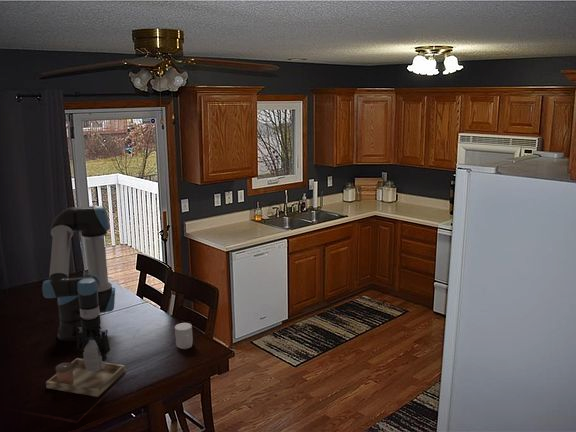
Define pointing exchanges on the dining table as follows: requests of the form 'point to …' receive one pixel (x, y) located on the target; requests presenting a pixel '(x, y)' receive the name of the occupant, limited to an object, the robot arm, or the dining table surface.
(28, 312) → the dining table surface
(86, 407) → the dining table surface
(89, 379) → the tray
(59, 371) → the jar
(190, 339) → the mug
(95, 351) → the small box
